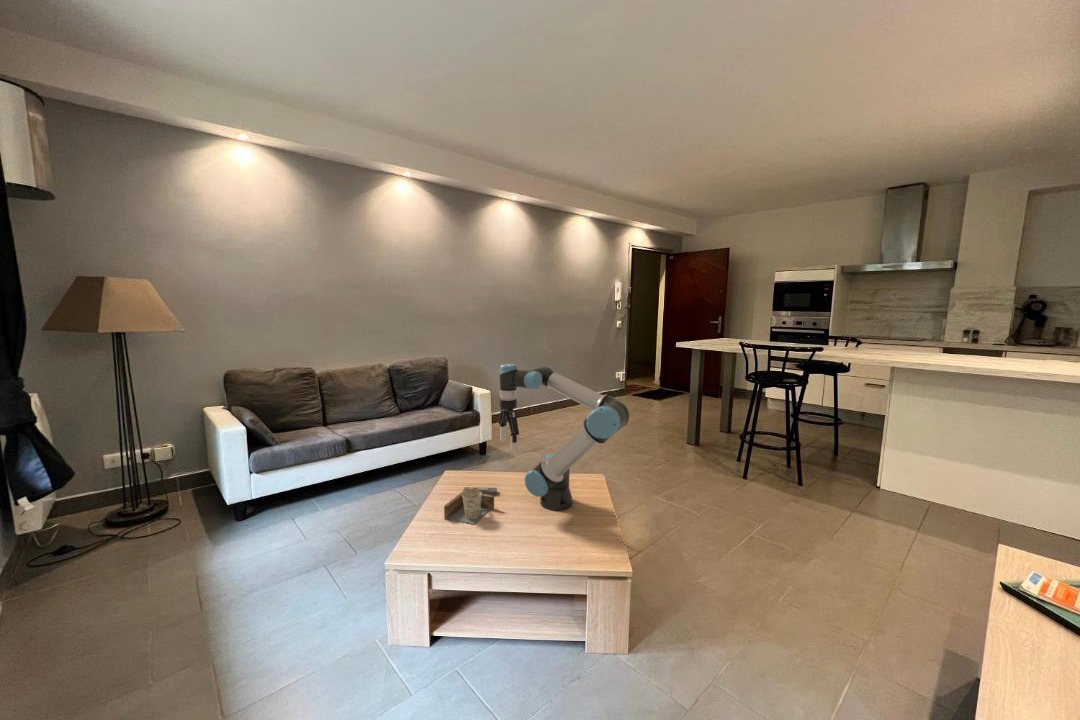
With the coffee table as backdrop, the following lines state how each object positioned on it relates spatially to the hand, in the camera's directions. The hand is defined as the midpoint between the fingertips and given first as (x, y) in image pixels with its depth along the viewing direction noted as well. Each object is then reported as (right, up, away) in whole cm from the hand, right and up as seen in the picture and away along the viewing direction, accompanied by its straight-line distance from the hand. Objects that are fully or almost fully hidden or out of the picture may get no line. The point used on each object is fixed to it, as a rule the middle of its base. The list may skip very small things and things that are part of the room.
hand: (508, 444), depth 192 cm
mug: (-15, -29, -6) cm, 33 cm away
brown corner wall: (-17, -29, -5) cm, 34 cm away
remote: (-15, -27, +15) cm, 34 cm away
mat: (-17, -30, -6) cm, 34 cm away
